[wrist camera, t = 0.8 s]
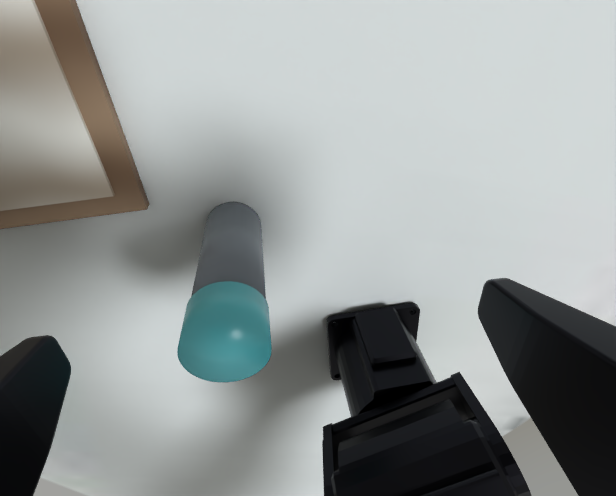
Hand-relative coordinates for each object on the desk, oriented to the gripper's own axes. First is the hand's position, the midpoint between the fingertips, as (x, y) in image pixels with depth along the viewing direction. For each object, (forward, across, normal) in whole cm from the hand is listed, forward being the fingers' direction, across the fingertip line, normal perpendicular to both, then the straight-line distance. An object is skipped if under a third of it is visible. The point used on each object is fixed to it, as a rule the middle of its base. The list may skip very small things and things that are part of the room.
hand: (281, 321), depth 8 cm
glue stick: (+12, +2, +4) cm, 13 cm away
